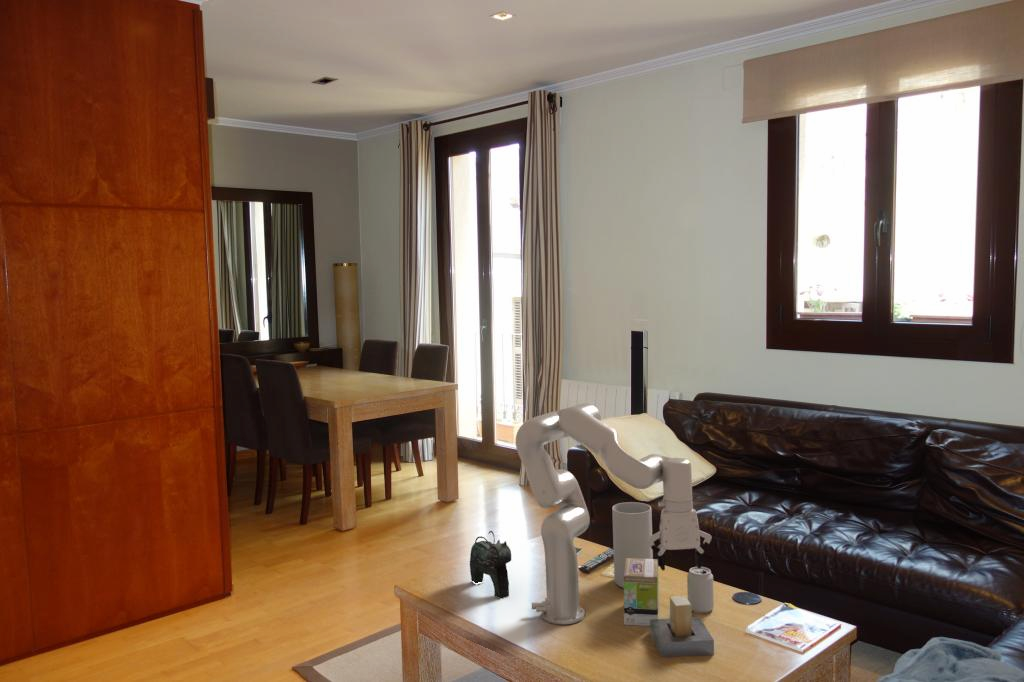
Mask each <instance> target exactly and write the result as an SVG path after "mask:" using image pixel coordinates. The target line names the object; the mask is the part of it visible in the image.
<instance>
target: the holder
mask: <svg viewBox="0 0 1024 682" xmlns="http://www.w3.org/2000/svg"><path fill="white" fill-rule="evenodd" d="M691 625H692V636H677V637H673V635H672V633H671V631H670V617H668V618H658V619H650V626H649V634H650V636H651V638H652V640H653V643H654V645H655V647H656V650H657V652H658V654H659V656H660V658H677V657H678V658H679V657H694V656H697V657H698V656H714V655H715V640H714V638H713V636H712V635H711V633H710V631H709V630H708V628H707V627H706V625H705V623H704V622H703V620H702V618H701V617H700V616H697V617H696V616H695V617H694V616H691Z"/></svg>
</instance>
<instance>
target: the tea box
mask: <svg viewBox="0 0 1024 682" xmlns="http://www.w3.org/2000/svg"><path fill="white" fill-rule="evenodd" d="M659 597H660V596H659V566H658V558H653V559H636V558H626V559H625V569H624V588H623V624H624V625H625V626H626V625H627V626H639V627H641V626H644V627H650V619H659V601H660V600H659Z"/></svg>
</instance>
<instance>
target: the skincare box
mask: <svg viewBox="0 0 1024 682" xmlns="http://www.w3.org/2000/svg"><path fill="white" fill-rule="evenodd" d="M691 617H692V610H691V604H690V602H689V601H688V597H686V595H676V596H675V595H673V596H669V618H670V631H671V633H672V635H673V637H677V636H692V625H691Z"/></svg>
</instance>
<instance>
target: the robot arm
mask: <svg viewBox="0 0 1024 682" xmlns="http://www.w3.org/2000/svg"><path fill="white" fill-rule="evenodd" d="M601 418H602V417H601V413H600V411H599V410H598V408H597V407H596V406H595V405H593V404H590V403H586V402H584V403H580V404H577V405H574V406H573V405H572V406H570V407H566V408H565V407H564V408H561V409H558V410H554V411H550V412H547V413H544V414H540V415H537V416H534V417H531V418H529V419H527V420H526V421H525V422H523V423H522V424H521V425H520V427H519V428H518V430H517V432H516V434H515V435H516V436H515V448H516V451H517V454H518V456H519V459H520V461H521V464H522V466H523V467H524V471H525V474H526V476H527V479H528V483H529V486H530V489H531V492H532V494H533V497H534V499H535V502H536V503H537V504H538V506H539V507H541V509H551V508H554V507H556V506H557V508H558V509H556V510H554V511H552V512H551V513H549V514H548V515H547V516H546V517H545V518H544V519H543V521H542V523H541V527H540V533H541V539H542V543H543V549H544V565H545V584H546V585H545V587H546V597H545V598H544V600H542V601H541V602H531V610H535V611H536V613H540V612H541V617H542V618H543V620H545V622H548V623H551V624H553V625H572V624H576V623H578V621H579V622H580V620H581V621H582V620H583V619H584V618H585V615H586V612H585V609H584V608H583V607H581V606H580V596H579V593H580V592H579V567H578V565H579V563H578V552H577V550H576V547H575V543H574V539H576V538H577V537H579V536H581V535H582V534H583V533H585V532H586V530H588V528H589V526H590V521H591V520H590V513H589V510H588V507H587V504H586V501H585V499H584V495H583V492H582V490H581V486H580V485H579V482H578V480H577V479H576V477H575V475H574V474H573V473H571V471H568V470H567V469H562V468H561V469H555V465H554V462H553V460H552V458H551V456H550V454H549V453H548V452H547V450H546V449H545V448H544V446H545V445H546V444H549V443H552V442H555V441H557V440H560V439H563V438H568V437H570V438H571V439H572V440H574V441H575V442H577V443H579V444H581V445H582V446H584V447H585V448H587V449H588V450H590V451H591V452H593V453H594V454H596V455H597V456H599V457H600V460H601V461H602V463H603V464H604V466H605V468H607V469H608V471H609V472H610V473H611V474H612V475H614V476H615V477H617V478H618V479H619V480H621V481H622V482H624V483H625V484H627V485H629V486H630V487H633V488H635V489H638V490H644V489H648V488H650V487H653V486H654V485H655V484H658V483H661V482H662V490H663V493H662V494H663V498H662V501H658V504H657V505H658V508H659V507H660V508H663V509H661V513H660V519H659V531H657V532H655V533H653V534H652V536H650V537H648V538H647V541H648V543H649V545H650V547H651V548H652V550H653V552H654V553H656V555H657V560H658V567H659V568H660V569H661V571H665V570H666V564H665V563H666V560H665V555H664V553H665V552H666V550H669V551H674V550H691V549H692V550H693V549H695V551H694V563H695V567H698V568H701V567H702V565H703V554H704V552H705V550H706V549H707V548H708V547H709V546H710V545H709V544H710V543H711V541H712V538H713V537H712V535H711V534H710V533H709V532H708V533H707V532H705V531H702V530H700V526H699V525H700V524H699V519H698V514H697V510H696V509H695V508H694V507H693V504H694V503H693V482H692V481H693V480H692V479H693V478H692V477H693V476H692V475H693V473H692V464H691V461H690V460H689V459H686V458H682V457H668V456H666V455H665V456H664V455H661V454H657V453H656V454H655V453H653V454H648V455H646V456H644V457H642V458H640V459H638V458H636V457H634V456H632V455H631V454H629V453H628V452H627V451H625V450H624V449H623V448H622V447H621V446H620V445H619V442H618V432H617V431H616V429H614V427H611V426H610V425H608V424H607V423H605V422H603V421H602V419H601ZM701 537H702V538H703V539H704V540H703V541H702V542H701ZM657 540H659V543H660V544H659V545H658V546H657V545H655V543H654V542H656V541H657Z"/></svg>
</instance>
